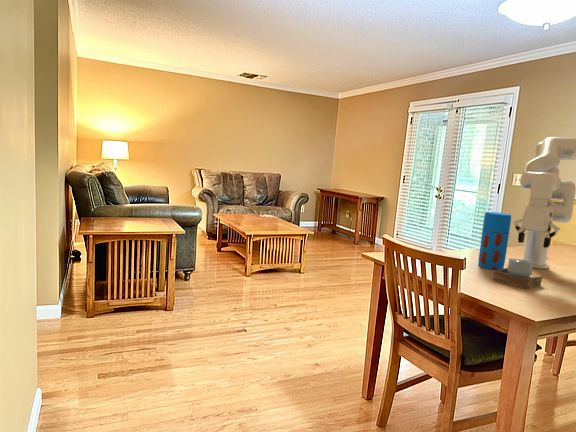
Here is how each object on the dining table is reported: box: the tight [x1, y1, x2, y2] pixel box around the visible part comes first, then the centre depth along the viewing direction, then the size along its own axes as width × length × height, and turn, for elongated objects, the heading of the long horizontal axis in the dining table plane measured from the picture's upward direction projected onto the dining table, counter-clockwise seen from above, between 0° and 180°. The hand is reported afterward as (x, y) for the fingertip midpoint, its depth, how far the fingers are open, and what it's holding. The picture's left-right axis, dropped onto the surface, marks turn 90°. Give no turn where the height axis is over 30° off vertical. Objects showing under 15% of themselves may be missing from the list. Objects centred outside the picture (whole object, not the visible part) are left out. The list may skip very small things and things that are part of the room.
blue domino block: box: [477, 211, 512, 271], centre depth 187 cm, size 11×11×25 cm
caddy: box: [492, 267, 543, 290], centre depth 165 cm, size 12×13×4 cm
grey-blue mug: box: [507, 258, 533, 278], centre depth 166 cm, size 14×8×9 cm, turn 125°
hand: (533, 244), depth 168 cm, fingers open, 9 cm apart
